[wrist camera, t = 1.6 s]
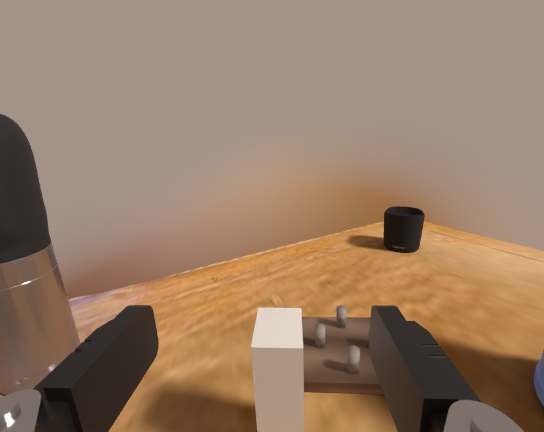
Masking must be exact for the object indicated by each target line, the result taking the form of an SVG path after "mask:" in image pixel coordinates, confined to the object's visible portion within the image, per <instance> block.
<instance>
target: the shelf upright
mask: <svg viewBox="0 0 544 432" xmlns="http://www.w3.org/2000/svg"><path fill="white" fill-rule="evenodd" d="M251 356H252V369H253V382H254V395H255V408H256V421H257V432H304V362H303V333H302V315H301V308H258V313H257V318H256V324H255V329H254V334H253V339H252V344H251Z"/></svg>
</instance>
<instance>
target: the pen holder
mask: <svg viewBox="0 0 544 432" xmlns="http://www.w3.org/2000/svg"><path fill="white" fill-rule="evenodd" d="M424 217H425V215H424V213H423V211H422V210H420V209H417V208H412V207H390V208H388V209H387V210H386V211H385V213H384V245H385V247H386V248H388V249H390V250H393V251H396V252H404V253H409V252H415V251H417V250H418V249H419V246H420V240H421V235H422V229H423V223H424Z"/></svg>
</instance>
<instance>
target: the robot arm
mask: <svg viewBox="0 0 544 432" xmlns="http://www.w3.org/2000/svg"><path fill="white" fill-rule="evenodd" d="M158 344H159V343H158V335H157V330H156V324H155V319H154V313H153V309H152V307H151V306H149V305H130V306H127V307H126V308H125V309H124V310H123V311H121V312H120V313H119V314H118V315H117V316H116V317H115V318H114V319H113V320H111V321H109V322H107V323H106V324H104V325H102V326H101V327H99V328H97V329H96V330H95V331H94V332H93V333H92V334H91V335H90V336H89V337H88V338H86V339H85V342H82V343H80V340H79V336H78V333H77V329H76V326H75V322H74V319H73V315H72V312H71V308H70V305H69V301H68V298H67V294H66V291H65V288H64V284H63V281H62V277H61V274H60V270H59V267H58V263H57V260H56V257H55V254H54V250H53V246H52V243H51V239H50V235H49V231H48V221H47V214H46V209H45V205H44V202H43V198H42V193H41V189H40V184H39V179H38V174H37V169H36V164H35V161H34V156H33V152H32V149H31V146H30V144H29V141H28V139H27V137H26V136H25V134H24V132H23V131H22V129H21V128H20V127H19V126H18V124H17V123H15V122H14V121H13V120H12V119H10V118H9V117H7V116H5V115H2V114H0V393H1V394H4V395H6V396H4V397H2V398H0V432H108V431H109V430H110V428H111V427H112V425H113V423H114V422H115V420H116V419H117V417H118V416H119V414H120V413H121V411H122V409H123V408H124V406H125V405H126V403H127V402H128V400H129V398H130V397H131V395H132V394H133V392H134V391H135V389H136V388H137V386H138V384H139V383H140V381H141V380H142V378H143V377H144V375H145V374H146V372H147V370H148V369H149V367H150V366H151V364H152V363H153V361H154V359H155V357H156V355H157V351H158ZM369 345H370V355H371V360H372V363H373V366H374V369H375V371H376V374H377V377H378V379H379V382H380V385H381V387H382V390H383V393H384V395H385V398H386V401H387V403H388V406H389V409H390V411H391V414H392V417H393V419H394V422H395V425H396V427H397V430H398V432H524V431H523V430H522V429H521V428H520V427H519V426H518V425H517V424H516V423H515V422H514V421H513V420H512V419H510V418H509V417H508V416H506V415H505V414H504V413H502V412H500V411H499V410H497V409H495V408H493V407H491V406H489V405H487V404H484V403H481V401H480V400H479V399H478V397H477V396H476V395H475V393H474V392H473V391H472V389H471V388H470V386H469V385H468V384H467V382H466V381H465V380H464V378H463V377H462V376H461V374H460V373H459V372H458V370H457V369H456V368H455V366H454V365H453V364H452V362H451V361H450V360H449V358H447V357H446V354H445V353H444V351H443V350H442V349H441V347H439V346H438V343H437V342H436V341H435V339H434V338H433V337H432V335H431V334H430V333H429V331H427V330H426V329H424V328H423V327H422V326H420V325H419V324H418V323H416V322H415V321H406V320H405V318H404V317H403V315H402V314H401V312H400V311H399V309H398V308H397V307H396V306H372V309H371V323H370V343H369Z"/></svg>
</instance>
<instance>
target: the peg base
mask: <svg viewBox="0 0 544 432" xmlns="http://www.w3.org/2000/svg"><path fill="white" fill-rule="evenodd" d="M346 310H347V309H346V307H345V306H338V307H337V317H302V333H303V362H304V390H305V392H326V393H356V394H384V393H383V390H382V387H381V385H380V382H379V379H378V377H377V374H376V371H375V369H374V366H373V363H372V360H371V355H370V345H369V343H370V323H371V318H346Z"/></svg>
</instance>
